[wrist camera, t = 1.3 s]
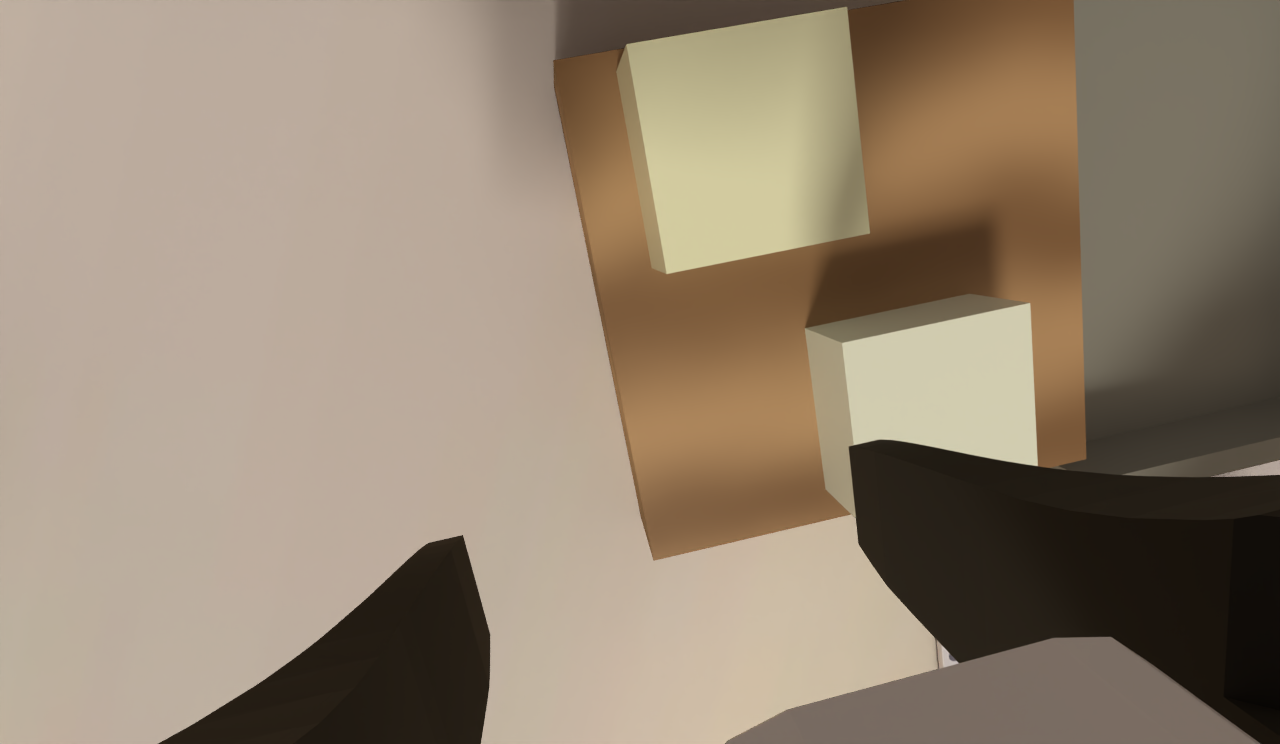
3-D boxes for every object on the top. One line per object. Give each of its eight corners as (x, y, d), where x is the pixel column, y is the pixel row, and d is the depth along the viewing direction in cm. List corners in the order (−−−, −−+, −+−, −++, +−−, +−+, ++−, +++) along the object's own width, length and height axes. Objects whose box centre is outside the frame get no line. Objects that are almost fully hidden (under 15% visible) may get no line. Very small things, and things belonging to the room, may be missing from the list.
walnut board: (1021, 430, 24) (1086, 458, 21) (641, 517, 22) (653, 560, 20) (998, 8, 20) (1072, -29, 17) (554, 86, 19) (553, 60, 16)
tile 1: (980, 453, 20) (1038, 484, 18) (825, 489, 20) (862, 525, 17) (969, 293, 19) (1030, 303, 17) (805, 328, 19) (841, 342, 16)
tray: (1328, 397, 25) (1439, 421, 22) (1022, 469, 24) (1092, 504, 21) (1360, -106, 21) (1500, -164, 18) (996, -45, 20) (1076, -96, 17)
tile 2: (828, 232, 18) (870, 233, 16) (651, 268, 18) (666, 274, 15) (805, 38, 17) (846, 6, 14) (616, 71, 16) (626, 44, 14)
